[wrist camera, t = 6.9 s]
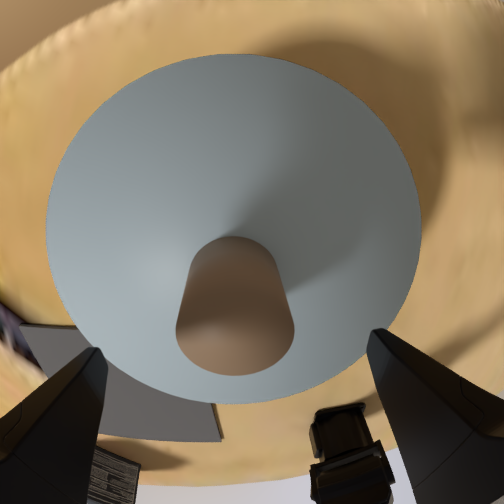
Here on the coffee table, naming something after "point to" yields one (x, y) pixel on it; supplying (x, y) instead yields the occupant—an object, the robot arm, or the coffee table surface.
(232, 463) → the coffee table surface
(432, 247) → the coffee table surface
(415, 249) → the lid
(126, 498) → the small box
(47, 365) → the mat
